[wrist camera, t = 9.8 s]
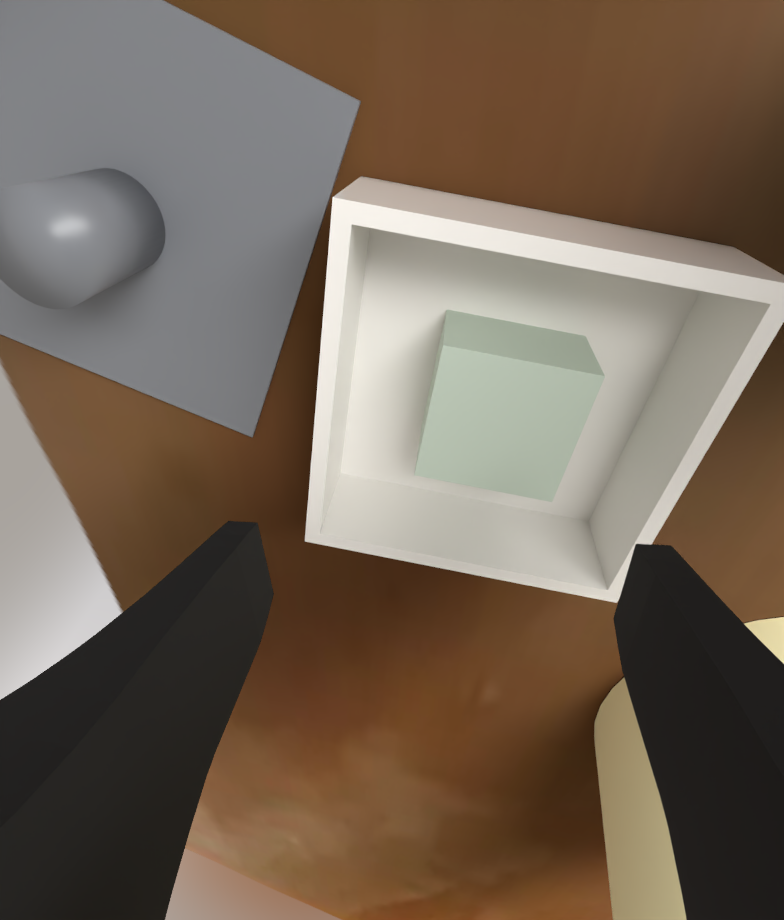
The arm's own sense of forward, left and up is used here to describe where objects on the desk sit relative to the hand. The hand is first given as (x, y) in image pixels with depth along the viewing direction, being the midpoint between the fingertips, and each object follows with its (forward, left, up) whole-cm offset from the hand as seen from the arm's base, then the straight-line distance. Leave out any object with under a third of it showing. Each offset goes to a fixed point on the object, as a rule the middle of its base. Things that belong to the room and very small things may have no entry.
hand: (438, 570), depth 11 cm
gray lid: (+11, -3, -11) cm, 16 cm away
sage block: (-2, 0, -9) cm, 10 cm away
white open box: (-2, 0, -10) cm, 10 cm away
